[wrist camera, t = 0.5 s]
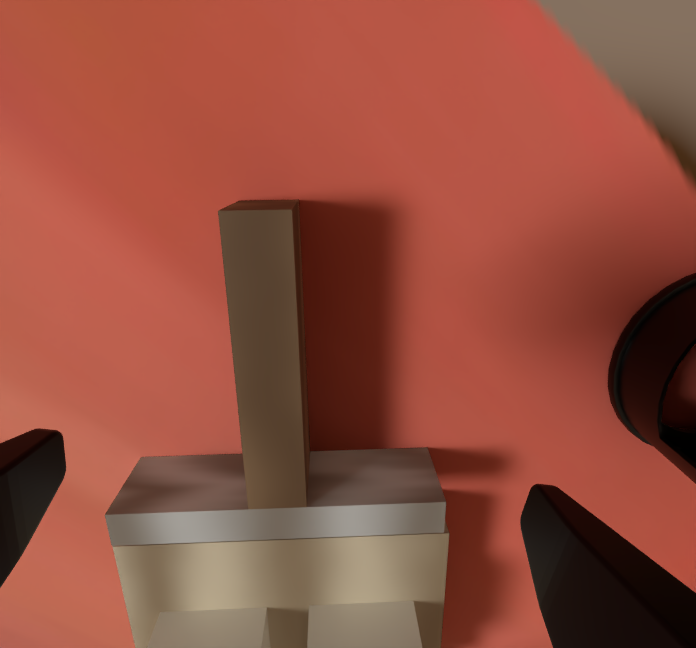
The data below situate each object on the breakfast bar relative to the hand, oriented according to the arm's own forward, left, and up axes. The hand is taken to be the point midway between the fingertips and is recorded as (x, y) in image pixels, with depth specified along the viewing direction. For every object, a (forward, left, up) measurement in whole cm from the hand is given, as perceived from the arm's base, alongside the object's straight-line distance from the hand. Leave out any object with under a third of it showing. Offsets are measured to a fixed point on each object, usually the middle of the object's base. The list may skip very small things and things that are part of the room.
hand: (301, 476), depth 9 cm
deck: (-2, -16, -12) cm, 20 cm away
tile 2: (+2, -17, -9) cm, 19 cm away
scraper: (-2, -2, -12) cm, 13 cm away
